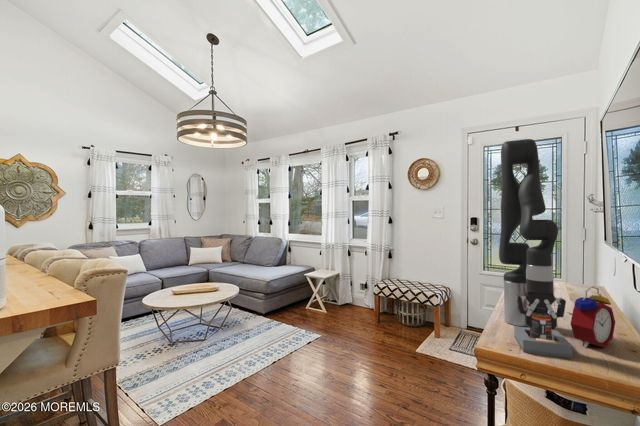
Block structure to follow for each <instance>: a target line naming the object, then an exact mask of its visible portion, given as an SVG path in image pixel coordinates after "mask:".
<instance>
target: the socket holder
mask: <svg viewBox="0 0 640 426" xmlns="http://www.w3.org/2000/svg"><path fill="white" fill-rule="evenodd" d="M513 326H514V327H513V328H514V329H513V330H514V331H513V332H514V333H513V335H514V339H515V340H516V342H517V344H518V346H519V348H520V349H521V350H522V352H523V353H528V354H534V355H542V356H549V357H556V358H557V357H558V358H564V359H565V358H567V359H573V357H574V356H573V354H574V353H573V345H572V344H571V343H570V342H569V341H568V340H567V339H566V338H565V337H564V336H563V335H562V333H560V332H559V331H558V330H556V329H555V330H554V329H552V340H547V339H539V338H536V339H534V338H531V337H530V327H528V326H517V325H513Z"/></svg>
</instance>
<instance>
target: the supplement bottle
mask: <svg viewBox="0 0 640 426" xmlns="http://www.w3.org/2000/svg"><path fill="white" fill-rule="evenodd" d="M530 316H531V327H529V328H530V337H531V338H534V339H536V338H539V339H547V340H552V330H553V329H552V322H551V315H550V314H549V312H548V308H541V307H535V309H534V311H532V313H531V315H530Z"/></svg>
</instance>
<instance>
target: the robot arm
mask: <svg viewBox="0 0 640 426" xmlns="http://www.w3.org/2000/svg"><path fill="white" fill-rule="evenodd" d="M500 164H501V165H500V166H501V195H500V196H501V198H500V235H499V236H500V237H499V248H498V249H499V250H498V259H499V262H500V263H501V264H503V265H510V266H511V265H512V266H513V265H514V266H519V267H518V268H515V269H514V270H511V271H507V272H504V273H503V303H504V304H503V306H504V307H503V308H504V311H503V312H504V313H503V314H504V315H503V316H504V322H506V323H507V324H509V325H513V326H517V327H527V328H530V327H531V316H530V315H531V313H532V311H534V309H535V307H541V308H548V313H549V314H550V315H551V322H552V330H555V331H556V328H557V325H558V324H557V322H558V319H559V318H564V317H565V316H564V315H565V309H566V305H567V303H566V302H567V301H566V300H565V299H564V298H563V297H555V295H554V294H555V293H554V292H555V289H554V279H555V278H554V277H555V275H554V269H553V251H554V248H555V244H556V241H557V238H558V235H559V227H558V225H557V223H556V222H555V221H554V220H553V219H534V218H533V217H534V216H535V217H536V216H538V215H539V216H540V215H542V214H543V213H545V211H546V209H547V208H546V204H545V200H544V196H543V195H544V194H543V192H542V185H541V174H540V162H539V150H538V146H537V143H536V141H535V140H534V139H532V138H525V139H516V140H508V141H507V140H506V141H504V142H503V143H502V145H501V149H500ZM517 165H527V170H526V174H525V176H524V179H523V180H522V182H521V184H520V182H519V181H518V179H517V178H516V176H515V173H514V169H513V167H514V166H517ZM518 227H519V234H520V236H521V237H522V238H523V239H524V240H526V241H540V242H539V244H538V245H536V246H532V247H530V245H529V244H528V243H526V242H510V241H511V238H512V235H513V234H514V233H515V231H516V230H517V228H518ZM554 303H556V304H557V307H556V309H557V310H556V312H555V310H554V309H553V307H552V306H553V304H554Z"/></svg>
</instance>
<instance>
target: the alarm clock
mask: <svg viewBox="0 0 640 426" xmlns="http://www.w3.org/2000/svg"><path fill="white" fill-rule="evenodd" d="M591 289H595V290H596V292H597V293H596V294H595V295H594V294H592V295H590V296H589V297H588V291H590V290H591ZM599 290H600V289H599V288H598V287H596V286H591V287H589V288H587V290H585V295H584V297H579V298H576V299H575V301H574V306H573V310H572V313H571V312H566V314H568V315H570V316H571V320H569V322H570V327H571V330H572V334H573V337H574V339H576V340H579V341H581V342H584V343H583V346H584V348H587V347H589V344H591V345H594V346H597V347H600V348H603V349H605V348H606V347H607V346H608V345H609V344H610V342H611V341H612V340H613V338H614V332H615V327H616V320H615V315H614V312H613V308H612V307H610V305H611V304H612V303H611V302H610V299H609V298H608V297H605V296H603V295H602V293H600V291H599Z"/></svg>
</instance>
